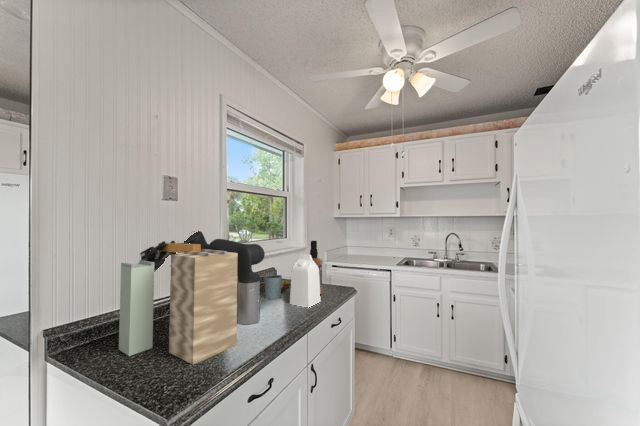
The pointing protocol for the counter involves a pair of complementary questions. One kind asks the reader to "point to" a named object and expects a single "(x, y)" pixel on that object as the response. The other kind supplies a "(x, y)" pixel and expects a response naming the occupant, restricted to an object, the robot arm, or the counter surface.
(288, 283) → the gavel
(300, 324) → the counter surface
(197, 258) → the stand
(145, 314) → the grooved green pillar
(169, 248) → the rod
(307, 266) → the milk
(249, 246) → the robot arm
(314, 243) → the whiskey bottle
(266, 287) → the teal cup
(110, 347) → the counter surface
